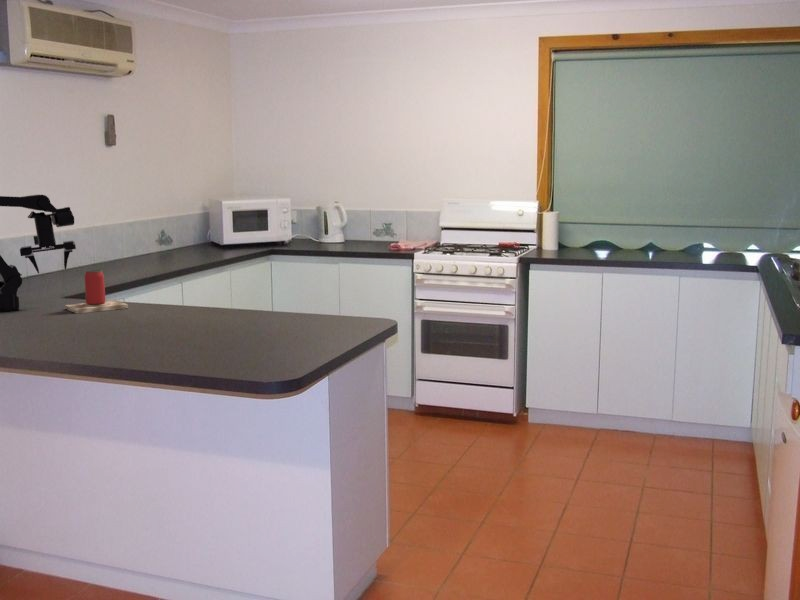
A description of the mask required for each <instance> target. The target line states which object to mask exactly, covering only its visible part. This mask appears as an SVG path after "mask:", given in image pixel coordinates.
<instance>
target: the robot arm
mask: <svg viewBox="0 0 800 600" xmlns="http://www.w3.org/2000/svg"><path fill="white" fill-rule="evenodd" d="M0 207H11V208H13V207H15V208H16V207H17V208H23V209H28V210H32V211H30V213H29V215H27V219H34V224H35V230H36V235H33V242H34V246H35V247H32V245H28V246H25V245H24V246H21V247H20V248H19V253H20V256H21V257H24V258H25V259H28V260H29V261H30V263H31V264H32V265H33V267H34V269H35V270H36V272H37V274H40V271H39V266H38V264H37V260H36V258H35V257H36V256H35V254H34V253H38V252H39V253H40V252H48V251H55V250H56V251H57V250H63V265H64V271H65V270H67V265H68V259H69V256H70V253H73V250H76V249H77V247H76V242H75V241H74V240H66V241H63V243H58V244H57V242H56V237H55V233H54V232H55V231H54V226H56V227H57V228H62V227H63V228H64V227H68V226H69V227H71V226H73V225H75V216H74V215H73V212H72V210H71V207H70V206H65V207H62V208H61V207H60V208H56V207H55V205H53V204H52V203H51V200H50V198H49V197H48V196H47V195H45V194H32V195H31V194H29V195H25V196H24V195H23V196H5V195H4V196H3V195H0ZM35 211H40V212H35ZM36 246H37V247H36ZM22 284H23V274H22V273H20V272H19V269H18V268H17V267H16V265H13V264H8V263H7V262H6V261H5V259H4V258H3V257H2V255H1V254H0V313H3V312H13V311H20V298H19V296H18V295H17V293H18V291H19V290H18V289H19V288H20V287H21V286H22Z"/></svg>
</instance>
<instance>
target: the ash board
mask: <svg viewBox="0 0 800 600" xmlns="http://www.w3.org/2000/svg"><path fill="white" fill-rule="evenodd" d="M64 306H65V310H66V309H67V311H69V312H71V313H73V314H85V313H87V314H88V313H96V312H105V311H114V310H115V311H117V310H116V309H118V310H126V309H125V308H129V305H128V303H124V302H121V301H118V300H108V301H107V300H105V303H104V304H100V305H88V304H87V303H86V302H84V303H82V302H81V303H73V304H65V305H64Z"/></svg>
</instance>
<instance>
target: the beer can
mask: <svg viewBox="0 0 800 600" xmlns="http://www.w3.org/2000/svg"><path fill="white" fill-rule="evenodd" d="M105 288H106V287H105V275H104V272H103V270H102V269H89V270H85V274H84V291H85V292H84V293H85V303H87V304H88V305H100V304H104V303H105V301H106V289H105Z"/></svg>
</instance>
